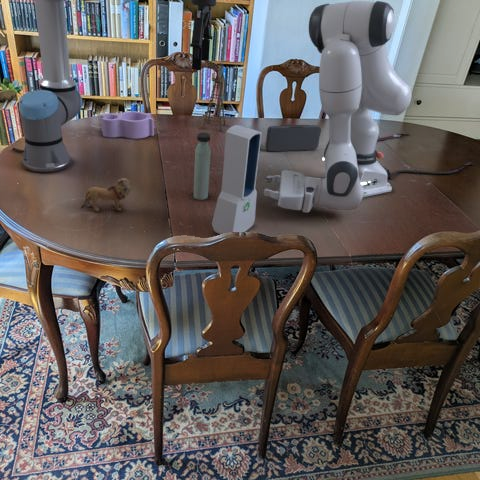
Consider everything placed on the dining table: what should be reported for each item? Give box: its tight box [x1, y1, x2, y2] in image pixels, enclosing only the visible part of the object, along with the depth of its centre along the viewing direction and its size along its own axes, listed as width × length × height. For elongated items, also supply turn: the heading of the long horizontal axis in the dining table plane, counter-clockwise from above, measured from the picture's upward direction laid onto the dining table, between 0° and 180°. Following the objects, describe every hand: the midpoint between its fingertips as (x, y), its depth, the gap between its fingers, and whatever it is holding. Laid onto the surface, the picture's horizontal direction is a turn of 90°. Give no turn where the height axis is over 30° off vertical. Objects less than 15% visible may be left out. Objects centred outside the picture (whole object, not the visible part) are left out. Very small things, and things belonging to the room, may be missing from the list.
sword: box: [377, 133, 409, 142], centre depth 213 cm, size 31×3×1 cm, turn 126°
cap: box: [196, 132, 211, 143], centre depth 139 cm, size 4×4×2 cm
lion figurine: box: [80, 177, 132, 212], centre depth 136 cm, size 15×5×9 cm, turn 110°
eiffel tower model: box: [202, 55, 226, 132], centre depth 198 cm, size 9×8×30 cm
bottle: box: [192, 141, 212, 201], centre depth 145 cm, size 5×5×20 cm
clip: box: [100, 110, 155, 140], centre depth 188 cm, size 20×12×7 cm, turn 109°
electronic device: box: [211, 124, 263, 235], centre depth 127 cm, size 12×8×30 cm, turn 148°
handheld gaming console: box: [264, 124, 322, 152], centre depth 189 cm, size 23×3×10 cm, turn 108°
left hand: (200, 65), depth 149 cm, fingers open, 13 cm apart
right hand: (265, 185), depth 145 cm, fingers open, 8 cm apart
